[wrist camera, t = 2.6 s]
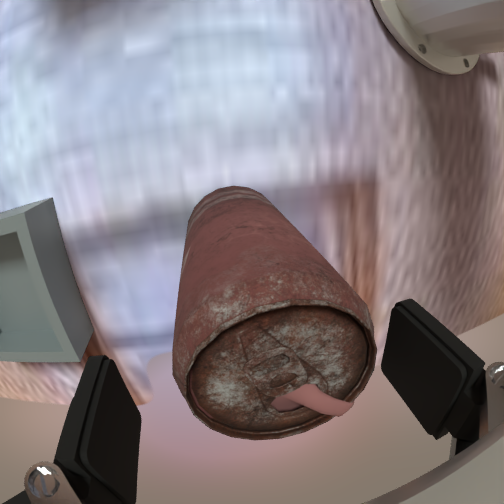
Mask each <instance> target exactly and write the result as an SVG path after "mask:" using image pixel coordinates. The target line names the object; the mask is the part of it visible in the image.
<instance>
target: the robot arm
mask: <svg viewBox="0 0 504 504" xmlns="http://www.w3.org/2000/svg"><path fill="white" fill-rule="evenodd" d="M373 3H374V6H375V8H376V10H377V12H378V14H379V16H380V18H381V20H382V21H383V22H384V24H385V25H386V27H387V28H388V30H389V32H390V33H391V34H392V35H393V37H394V38H395V39H396V40H397V41H398V43H399V44H400V45H401V46H402V47H403V48H404V49H405V50H406V51H407V52H408V53H409V54H410V55H411V56H412V57H414V58H415V59H416V60H417V61H419V62H420V63H421V64H423V65H424V66H426V67H428V68H429V69H431V70H433V71H436V72H438V73H441V74H447V75H457V74H463V73H466V72H468V71H470V70H471V69H472V68H473V67H474V66H475V65H476V63H477V61H478V58H479V55H480V54H484V53H495V52H504V0H373ZM484 365H485V362H484V361H483V360H481V358H479V357H478V356H477V355H476V354H475V353H474V352H473V351H472V350H471V349H470V348H469V347H467V346H466V345H465V344H464V343H463V342H462V341H460V339H459V338H457V337H456V336H455V335H454V334H453V333H452V332H451V331H449V330H448V329H447V328H446V327H445V326H444V325H443V324H441V323H440V322H439V321H438V320H437V319H436V318H434V317H433V316H432V315H431V314H430V313H429V312H427V311H426V310H425V309H424V308H423V307H421V306H420V305H419V304H418V303H417V302H415V301H414V300H413V299H407V300H404V301H400V302H397V303H396V304H395V306H394V308H393V309H392V311H391V316H390V322H389V328H388V333H387V338H386V343H385V348H384V353H383V358H382V362H381V369H382V372H383V374H384V375H385V376H386V378H387V379H388V380H389V382H390V383H391V384H392V386H393V387H394V388H395V389H396V391H397V392H398V394H399V395H400V396H401V398H402V399H403V400H404V402H405V403H406V404H407V406H408V407H409V408H410V410H411V411H412V413H413V414H414V415H415V417H416V418H417V419H418V421H419V422H420V424H421V425H422V426H423V428H424V429H425V430H426V432H427V433H428V434H430V435H433V436H434V437H435V439H436V440H437V439H439V438H441V437H442V436H444V435H446V434H447V433H448V432H450V434H451V435H452V440H451V448H450V456H449V460H448V461H446V462H445V463H443V464H441V465H440V466H438V467H436V468H435V469H433V470H431V471H430V472H428V473H426V474H424V475H422V476H420V477H419V478H417V479H415V480H413V481H411V482H409V483H407V484H405V485H403V486H401V487H399V488H397V489H395V490H393V491H390V492H388V493H386V494H384V495H382V496H379V497H377V498H375V499H372V500H370V501H368V502H365V503H363V504H504V363H503V362H495V363H493V364H491V365H490V366H488V368H487V370H486V371H485V370H484V369H483V367H484ZM140 431H141V415H140V412H139V410H138V408H137V406H136V405H135V403H134V401H133V399H132V397H131V395H130V393H129V391H128V389H127V387H126V385H125V383H124V381H123V379H122V377H121V375H120V373H119V371H118V369H117V366H116V364H115V362H114V361H113V360H112V359H109V358H108V357H107V356H106V355H102V356H90V357H89V358H88V360H87V363H86V365H85V368H84V371H83V373H82V376H81V379H80V382H79V384H78V387H77V390H76V393H75V396H74V397H73V399H72V401H71V404H70V407H69V410H68V414H67V417H66V420H65V423H64V426H63V430H62V433H61V436H60V440H59V443H58V447H57V451H56V455H55V459H54V462H53V463H50V462H39V463H36V464H34V465H33V466H32V467H30V468H29V470H28V471H27V473H26V475H25V478H24V486H25V490H24V491H22V492H21V493H19V494H18V495H16V496H14V497H13V498H11V499H9V500H8V501H6V502H4V503H3V504H135V503H136V493H137V471H138V456H139V442H140Z"/></svg>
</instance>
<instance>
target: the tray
mask: <svg viewBox="0 0 504 504" xmlns="http://www.w3.org/2000/svg"><path fill="white" fill-rule="evenodd" d="M93 331H94V329H93V326H92V324H91V321H90V319H89V317H88V314H87V311H86V309H85V306H84V304H83V301H82V298H81V296H80V293H79V290H78V287H77V284H76V281H75V278H74V276H73V272H72V269H71V266H70V263H69V260H68V257H67V253H66V250H65V246H64V243H63V239H62V236H61V232H60V228H59V224H58V220H57V216H56V212H55V207H54V203H53V198H49V199H45V200H41V201H38V202H34V203H31V204H28V205H24V206H21V207H18V208H14V209H11V210H8V211H5V212H2V213H0V361H12V362H80V361H81V359H82V357H83V354H84V352H85V349H86V347H87V345H88V342H89V340H90V338H91V336H92V333H93Z"/></svg>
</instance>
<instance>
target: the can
mask: <svg viewBox="0 0 504 504" xmlns="http://www.w3.org/2000/svg"><path fill="white" fill-rule="evenodd" d="M376 354H377V347H376V344H375V340H374V326H373V323H372V320H371V316H370V313H369V310H368V307H367V304H366V303H365V302H364V301H363V300H362V299H361V298H360V296H359V295H358V294H357V293H356V292H355V291H354V290H353V289H352V288H351V287H350V285H349V284H348V283H347V282H346V281H345V280H344V279H343V278H342V277H341V276H340V274H339V273H338V272H337V271H336V270H335V269H334V268H333V267H332V266H331V265H330V264H329V263H328V262H327V260H326V259H325V258H324V257H323V256H322V255H321V254H320V253H319V252H318V251H317V250H316V249H315V248H314V247H313V246H312V245H311V243H310V242H309V241H308V240H307V239H306V238H305V237H304V236H303V235H302V234H301V233H300V232H299V231H298V230H297V229H296V228H295V227H294V226H293V225H292V224H291V223H290V222H289V221H288V220H287V219H286V218H285V217H284V215H283V214H282V213H281V212H280V211H279V210H278V209H277V208H276V207H275V206H274V205H273V204H272V203H271V202H270V201H269V200H268V199H267V198H266V197H264V196H263V195H262V194H261V193H259V192H257V191H255V190H253V189H250V188H248V187H240V186H230V187H225V188H220V189H217V190H215V191H213V192H212V193H210V194H208V195H206V196H205V197H204V198H203V199H202V200H201V201H200V202H199V203H198V204H197V205H196V206H195V208H194V210H193V212H192V214H191V216H190V219H189V221H188V227H187V234H186V241H185V247H184V254H183V261H182V269H181V276H180V284H179V292H178V301H177V310H176V319H175V329H174V339H173V377H174V379H175V381H176V383H177V385H178V387H179V389H180V391H181V393H182V395H183V397H184V398H185V399H186V401H187V403H188V405H189V407H190V409H191V411H192V413H193V415H194V416H195V417H196V418H198V419H199V420H200V421H201V422H202V423H204V424H205V425H206V426H207V427H209V428H210V429H212V430H215V431H217V432H220V433H222V434H225V435H227V436H230V437H235V438H241V439H249V440H267V439H279V438H284V437H288V436H292V435H296V434H300V433H303V432H306V431H308V430H310V429H313V428H315V427H317V426H319V425H321V424H323V423H326V422H328V421H329V420H330V419H332V418H333V417H335V416H338V417H339V416H341V415H343V414H344V413H345V412H347V411H348V410H349V409H350V408H351V407H352V406H353V404H354V400H355V398H357V396H358V395H359V394H360V393H361V392H362V391H363V390H364V388H365V386H366V384H367V383H368V381H369V378H370V377H371V375H372V373H373V371H374V367H375V361H376Z"/></svg>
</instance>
